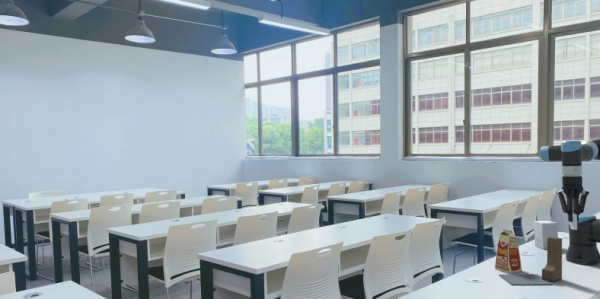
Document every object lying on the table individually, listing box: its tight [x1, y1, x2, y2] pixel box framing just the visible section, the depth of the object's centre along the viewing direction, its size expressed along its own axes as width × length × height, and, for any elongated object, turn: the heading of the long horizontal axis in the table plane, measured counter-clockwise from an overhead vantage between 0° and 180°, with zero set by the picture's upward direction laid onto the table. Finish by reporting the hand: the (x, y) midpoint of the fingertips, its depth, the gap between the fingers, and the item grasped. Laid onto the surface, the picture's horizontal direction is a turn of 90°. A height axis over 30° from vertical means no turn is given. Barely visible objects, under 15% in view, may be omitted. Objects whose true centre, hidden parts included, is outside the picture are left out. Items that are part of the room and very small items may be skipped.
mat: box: [498, 273, 554, 286], centre depth 188 cm, size 17×14×1 cm
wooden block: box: [541, 237, 563, 282], centre depth 187 cm, size 9×4×18 cm, turn 123°
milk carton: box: [494, 228, 523, 274], centre depth 205 cm, size 9×9×20 cm
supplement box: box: [533, 220, 559, 250], centre depth 245 cm, size 9×9×15 cm
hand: (573, 229), depth 185 cm, fingers closed
